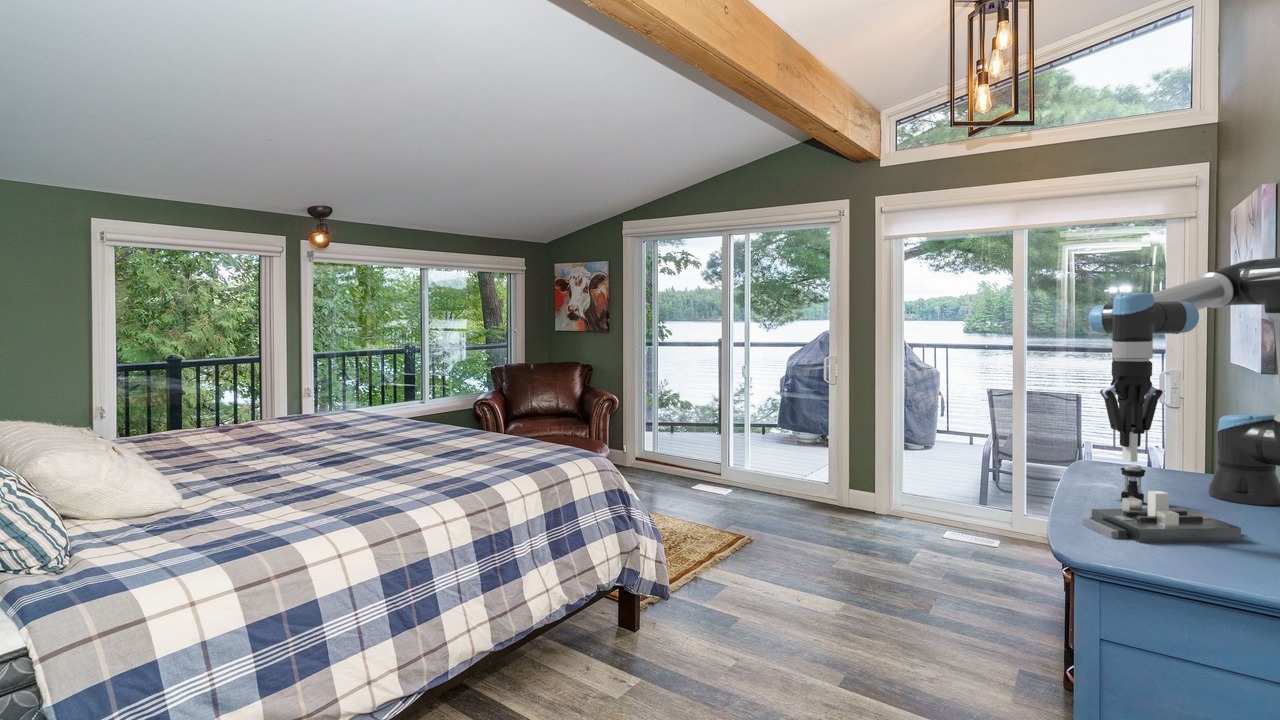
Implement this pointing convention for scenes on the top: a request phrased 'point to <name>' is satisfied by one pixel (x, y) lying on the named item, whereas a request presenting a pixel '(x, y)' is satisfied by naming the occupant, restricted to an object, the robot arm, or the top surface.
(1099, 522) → the narrow gray bar
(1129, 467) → the push button
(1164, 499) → the lever
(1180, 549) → the top surface
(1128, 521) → the panel
